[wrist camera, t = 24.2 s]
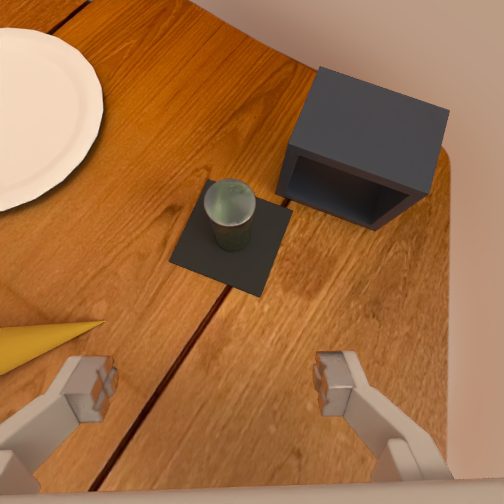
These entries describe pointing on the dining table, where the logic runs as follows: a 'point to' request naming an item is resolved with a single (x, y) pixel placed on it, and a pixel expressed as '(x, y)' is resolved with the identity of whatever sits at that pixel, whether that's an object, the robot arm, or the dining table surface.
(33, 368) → the dining table surface
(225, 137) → the dining table surface
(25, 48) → the plate
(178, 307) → the dining table surface
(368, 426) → the robot arm
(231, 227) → the tin
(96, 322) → the ice cream cone
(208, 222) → the mat
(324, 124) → the shelf
